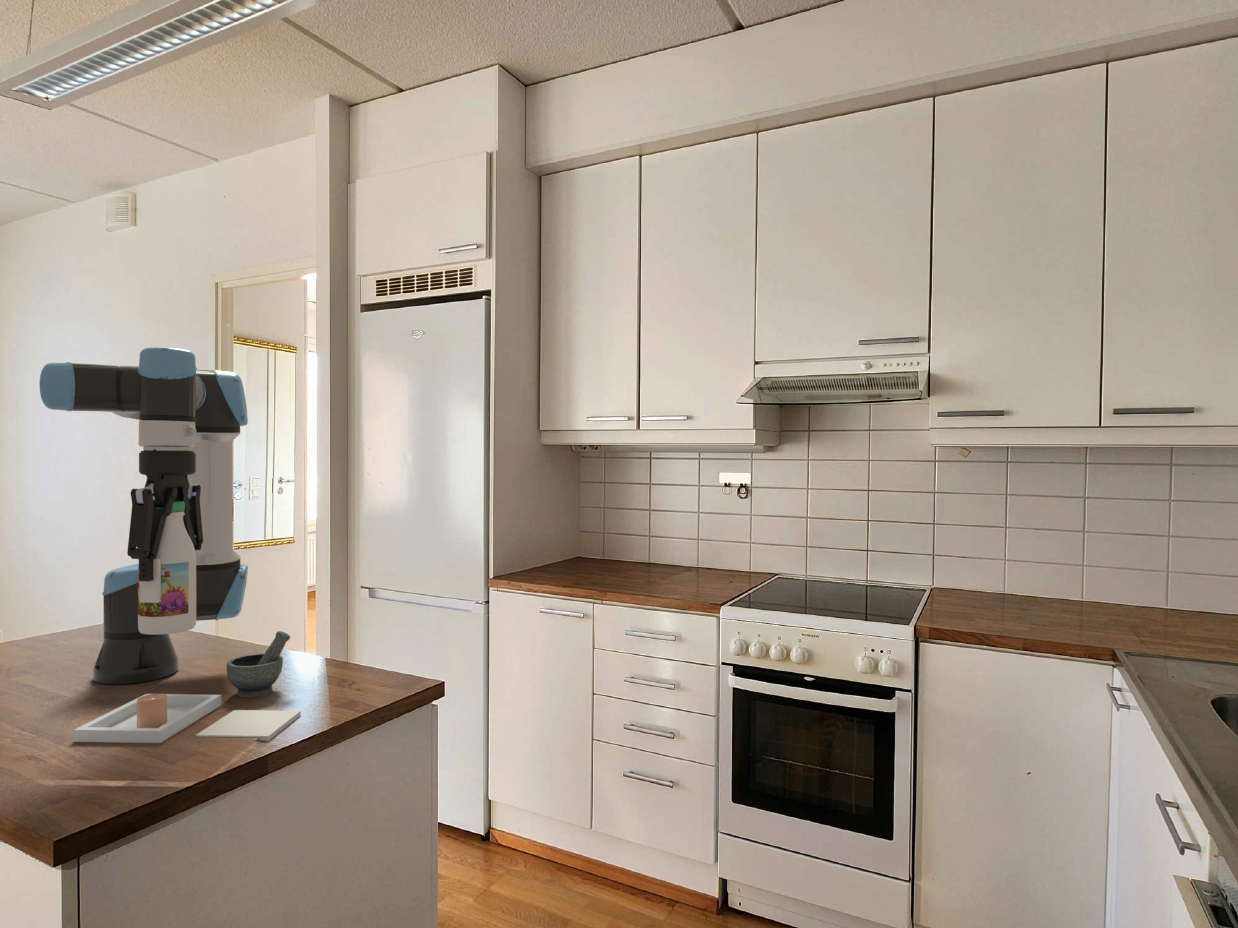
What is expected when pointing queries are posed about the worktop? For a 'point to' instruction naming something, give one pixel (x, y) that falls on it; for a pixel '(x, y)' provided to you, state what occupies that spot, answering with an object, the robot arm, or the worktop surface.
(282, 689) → the worktop surface
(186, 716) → the tray
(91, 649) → the worktop surface
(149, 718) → the pinkish brown rounded cylinder
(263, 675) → the mortar and pestle
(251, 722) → the pad
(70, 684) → the worktop surface
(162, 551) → the milk bottle
